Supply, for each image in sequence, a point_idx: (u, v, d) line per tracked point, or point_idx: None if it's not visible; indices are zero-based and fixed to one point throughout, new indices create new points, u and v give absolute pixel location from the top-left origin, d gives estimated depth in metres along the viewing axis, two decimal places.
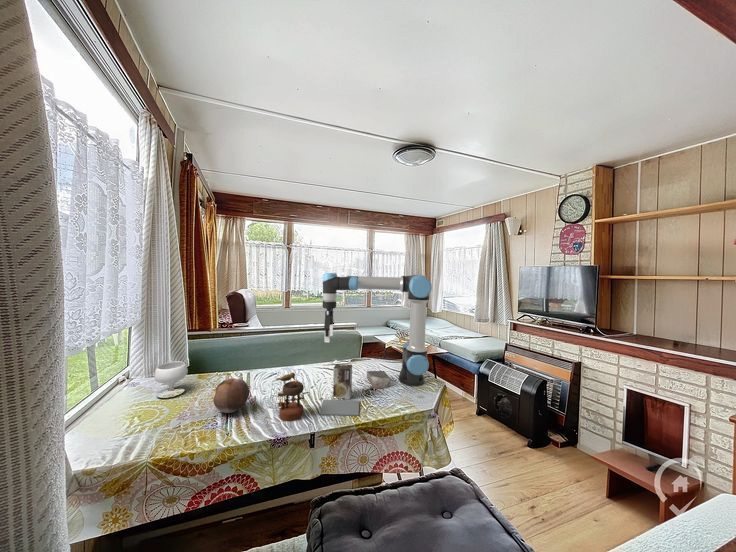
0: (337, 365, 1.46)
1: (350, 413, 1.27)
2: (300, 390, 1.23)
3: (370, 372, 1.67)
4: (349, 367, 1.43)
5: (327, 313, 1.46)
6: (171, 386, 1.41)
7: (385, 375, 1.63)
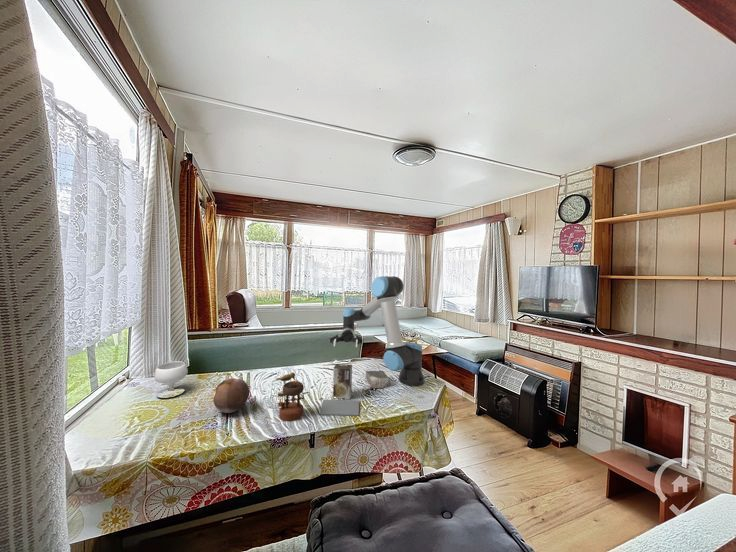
0: (337, 365, 1.46)
1: (350, 413, 1.27)
2: (300, 390, 1.23)
3: (369, 372, 1.67)
4: (349, 367, 1.43)
5: None
6: (171, 386, 1.41)
7: (384, 375, 1.63)
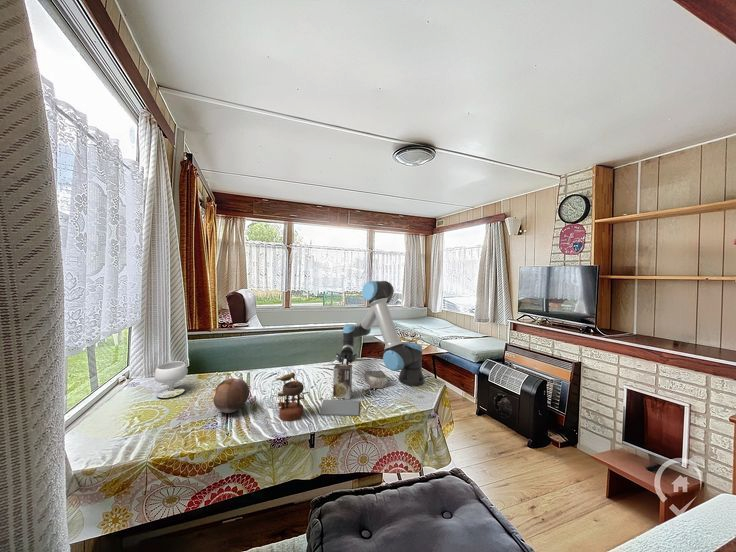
0: (337, 365, 1.46)
1: (350, 413, 1.27)
2: (300, 390, 1.23)
3: (368, 372, 1.66)
4: (349, 367, 1.43)
5: (336, 356, 1.71)
6: (171, 386, 1.41)
7: (383, 375, 1.63)
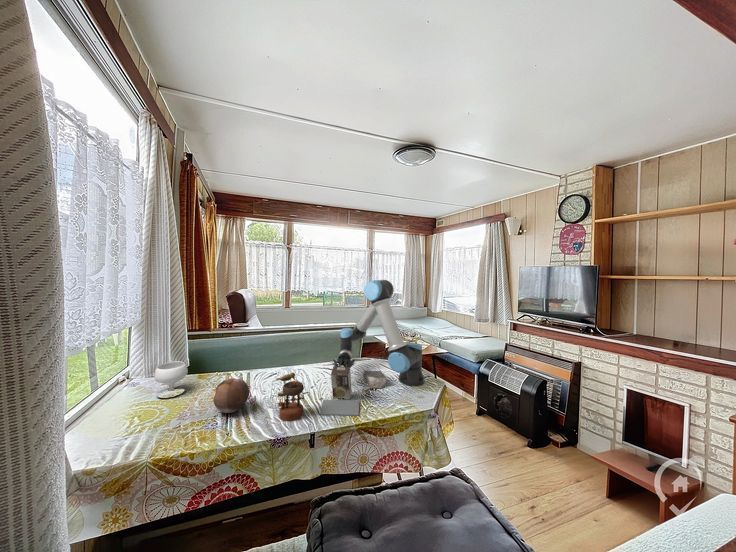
0: (334, 369, 1.39)
1: (350, 413, 1.27)
2: (300, 390, 1.23)
3: (367, 372, 1.66)
4: (347, 373, 1.37)
5: (333, 362, 1.60)
6: (171, 386, 1.41)
7: (382, 375, 1.63)
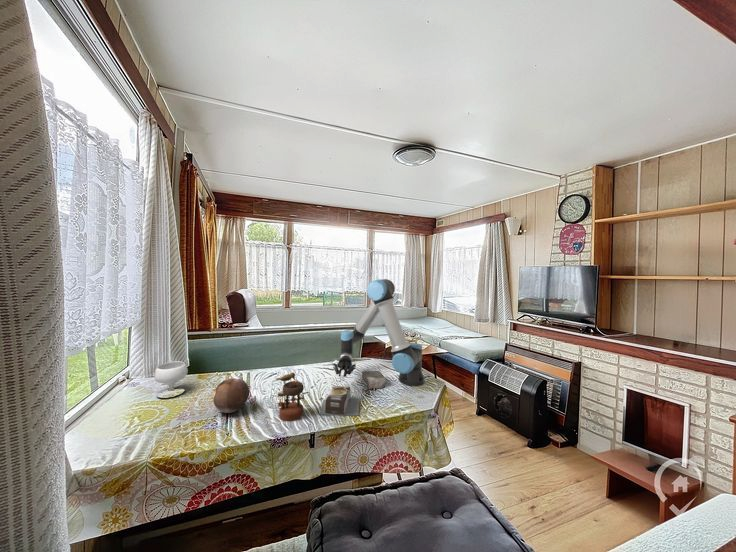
0: (328, 405, 1.27)
1: (350, 413, 1.27)
2: (300, 390, 1.23)
3: (365, 372, 1.66)
4: (342, 410, 1.26)
5: (333, 366, 1.54)
6: (171, 386, 1.41)
7: (381, 375, 1.63)
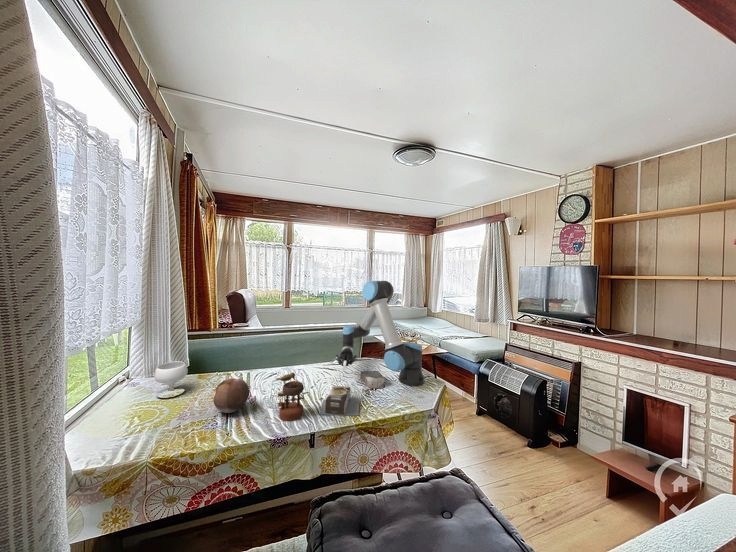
0: (328, 405, 1.27)
1: (350, 413, 1.27)
2: (300, 390, 1.23)
3: (364, 372, 1.66)
4: (342, 410, 1.26)
5: (336, 357, 1.68)
6: (171, 386, 1.41)
7: (380, 375, 1.63)
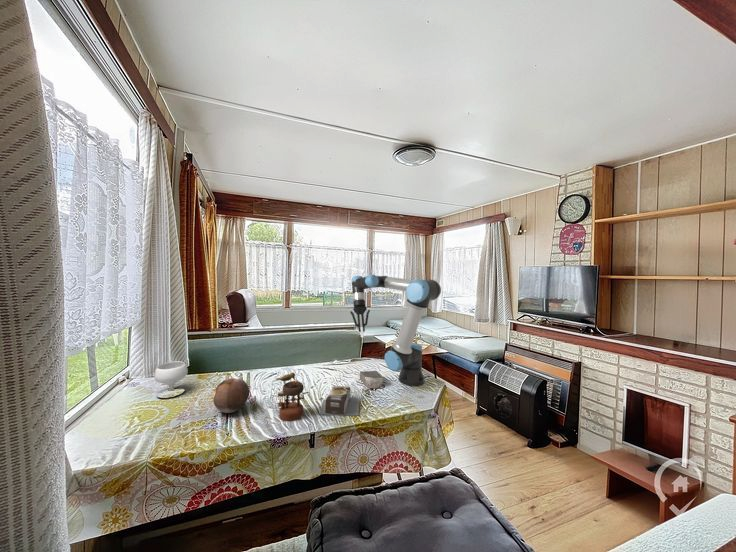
0: (328, 405, 1.27)
1: (350, 413, 1.27)
2: (300, 390, 1.23)
3: (363, 372, 1.66)
4: (342, 410, 1.26)
5: (351, 313, 1.75)
6: (171, 386, 1.41)
7: (379, 375, 1.63)
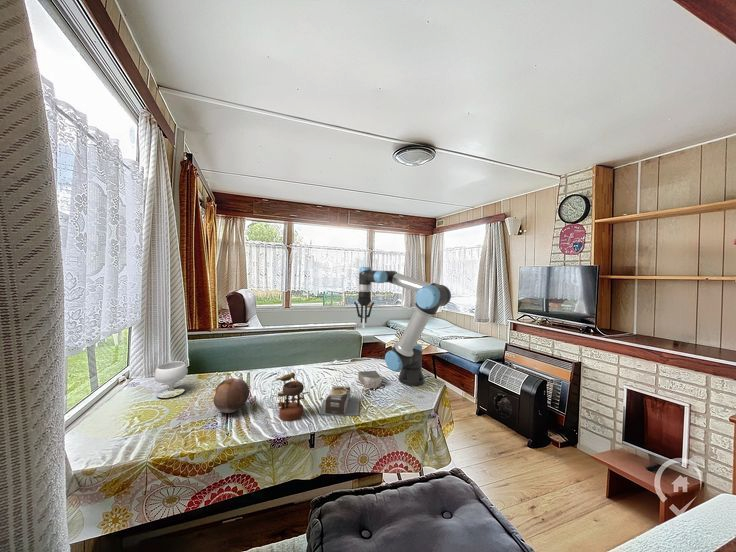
0: (328, 405, 1.27)
1: (350, 413, 1.27)
2: (300, 390, 1.23)
3: (362, 372, 1.66)
4: (342, 410, 1.26)
5: (354, 303, 1.76)
6: (171, 386, 1.41)
7: (377, 375, 1.63)
